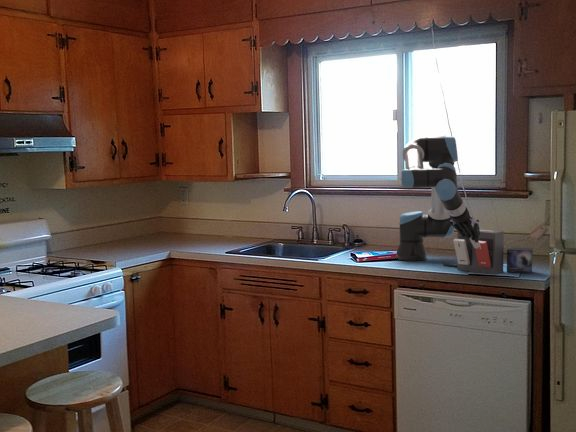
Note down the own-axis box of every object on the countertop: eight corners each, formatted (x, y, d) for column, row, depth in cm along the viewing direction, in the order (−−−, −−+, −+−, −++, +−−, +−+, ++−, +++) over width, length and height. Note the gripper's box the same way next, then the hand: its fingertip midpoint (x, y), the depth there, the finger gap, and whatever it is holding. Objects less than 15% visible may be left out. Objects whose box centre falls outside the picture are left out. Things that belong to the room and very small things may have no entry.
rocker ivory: (458, 263, 291) (453, 240, 287) (460, 262, 293) (454, 238, 288) (468, 265, 288) (463, 241, 284) (470, 263, 289) (465, 239, 285)
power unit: (436, 267, 300) (436, 228, 298) (447, 264, 307) (446, 226, 305) (493, 274, 281) (493, 233, 279) (503, 271, 287) (503, 230, 286)
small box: (506, 272, 284) (506, 249, 283) (506, 270, 290) (507, 247, 289) (532, 274, 281) (532, 250, 279) (532, 271, 287) (532, 247, 286)
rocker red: (478, 266, 285) (473, 242, 280) (480, 264, 286) (475, 240, 281) (489, 267, 281) (484, 243, 277) (491, 265, 282) (486, 241, 278)
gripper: (439, 216, 266) (460, 251, 280) (468, 218, 257) (488, 254, 271) (446, 202, 269) (466, 237, 283) (475, 204, 260) (494, 240, 274)
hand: (477, 245), depth 277 cm, fingers closed
